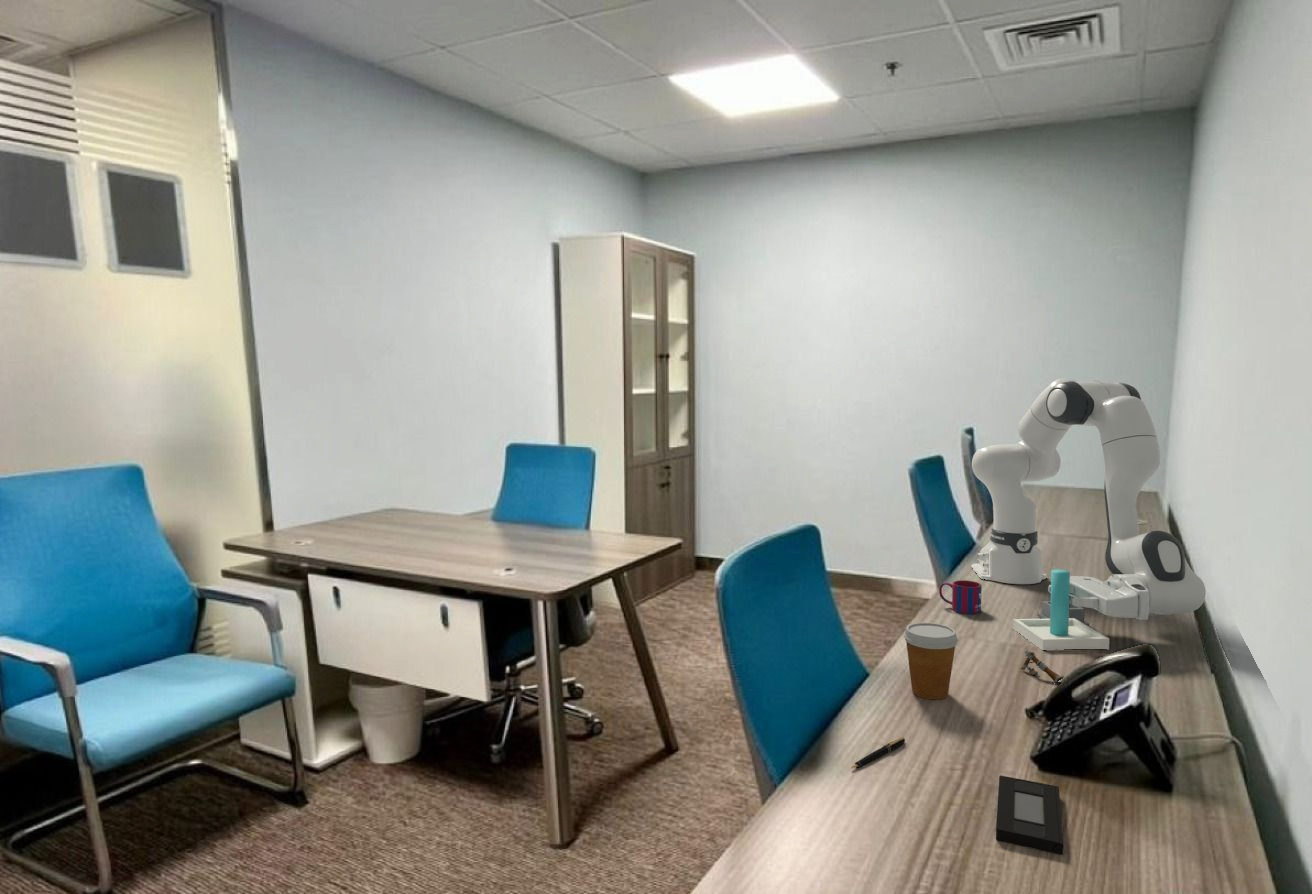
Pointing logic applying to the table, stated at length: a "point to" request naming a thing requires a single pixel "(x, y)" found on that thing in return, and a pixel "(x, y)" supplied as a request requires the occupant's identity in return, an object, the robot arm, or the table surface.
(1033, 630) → the tray
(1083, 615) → the holder
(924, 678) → the disposable coffee cup
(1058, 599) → the dowel
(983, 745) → the table surface
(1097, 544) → the table surface
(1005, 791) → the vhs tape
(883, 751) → the fountain pen
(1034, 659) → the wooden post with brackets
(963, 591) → the cup
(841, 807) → the table surface
